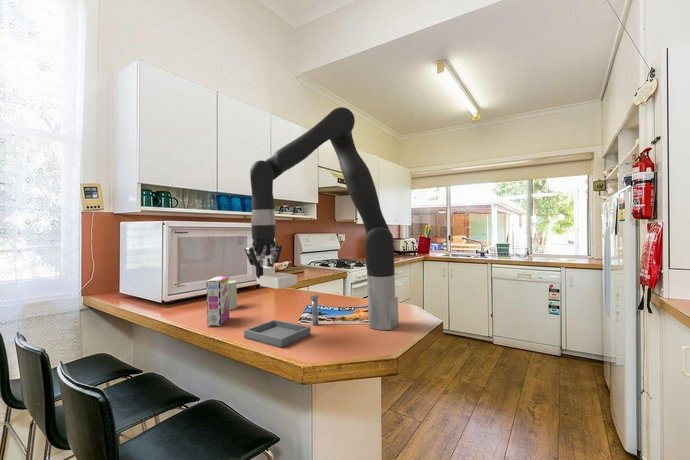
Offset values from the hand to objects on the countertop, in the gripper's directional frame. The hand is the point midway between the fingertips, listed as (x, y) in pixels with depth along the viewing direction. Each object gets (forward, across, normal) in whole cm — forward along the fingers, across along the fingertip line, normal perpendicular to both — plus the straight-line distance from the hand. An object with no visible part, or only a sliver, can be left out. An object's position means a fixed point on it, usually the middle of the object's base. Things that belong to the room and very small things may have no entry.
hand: (265, 276), depth 102 cm
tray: (+18, 0, -5) cm, 19 cm away
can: (+19, +14, +42) cm, 48 cm away
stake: (+18, +15, -8) cm, 25 cm away
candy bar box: (+19, 0, +26) cm, 32 cm away
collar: (+2, 0, -4) cm, 4 cm away
